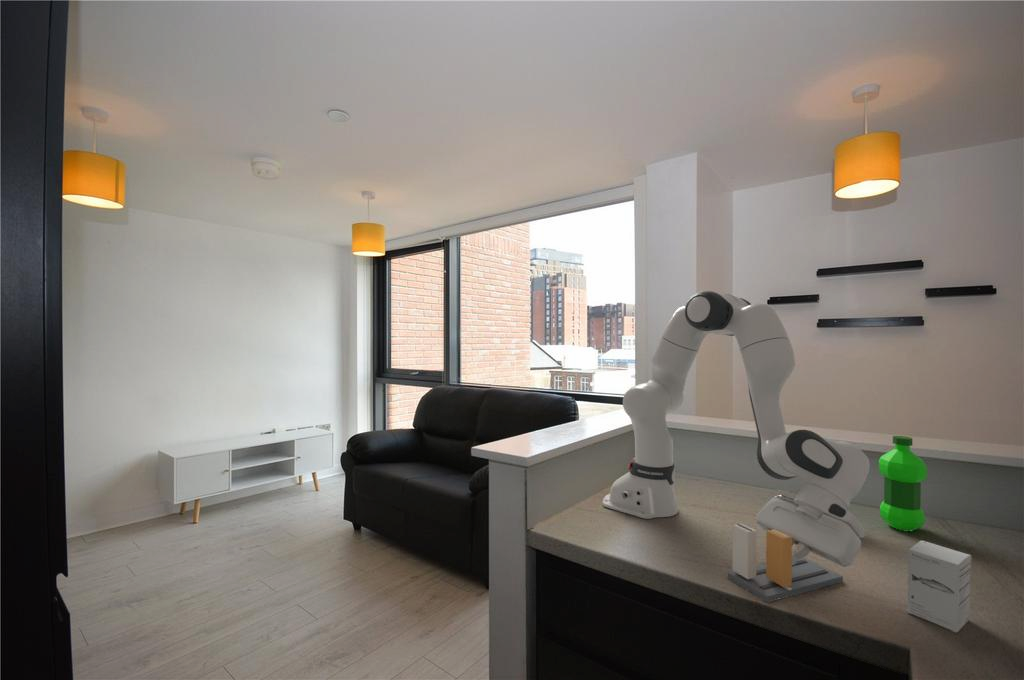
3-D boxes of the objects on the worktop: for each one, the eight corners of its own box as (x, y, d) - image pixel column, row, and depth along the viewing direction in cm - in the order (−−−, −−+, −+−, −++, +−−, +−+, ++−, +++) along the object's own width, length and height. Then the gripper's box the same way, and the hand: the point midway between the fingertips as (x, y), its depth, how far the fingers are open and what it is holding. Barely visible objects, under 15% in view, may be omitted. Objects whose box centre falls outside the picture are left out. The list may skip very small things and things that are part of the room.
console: (767, 602, 91) (767, 595, 91) (727, 577, 101) (727, 571, 101) (842, 581, 99) (842, 575, 99) (799, 560, 108) (799, 554, 108)
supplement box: (905, 613, 88) (906, 548, 88) (920, 601, 92) (921, 538, 92) (957, 634, 82) (958, 564, 81) (971, 620, 86) (972, 553, 85)
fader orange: (783, 587, 94) (783, 537, 94) (766, 577, 97) (766, 530, 97) (791, 584, 94) (791, 536, 94) (774, 575, 98) (774, 528, 98)
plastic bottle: (897, 535, 121) (898, 441, 121) (868, 519, 132) (869, 433, 132) (937, 536, 121) (938, 442, 121) (905, 520, 131) (906, 433, 131)
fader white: (747, 579, 97) (748, 531, 97) (732, 570, 100) (732, 524, 100) (756, 577, 98) (756, 529, 97) (741, 568, 101) (741, 522, 101)
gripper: (769, 484, 109) (737, 531, 106) (860, 516, 90) (824, 575, 86) (782, 500, 110) (751, 547, 107) (875, 535, 91) (841, 594, 88)
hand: (785, 560), depth 97 cm, fingers closed, pressing on fader orange
